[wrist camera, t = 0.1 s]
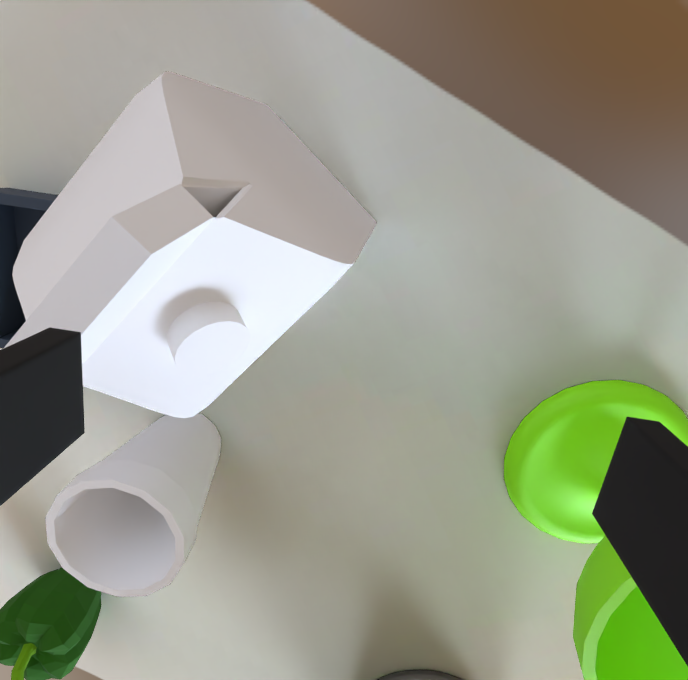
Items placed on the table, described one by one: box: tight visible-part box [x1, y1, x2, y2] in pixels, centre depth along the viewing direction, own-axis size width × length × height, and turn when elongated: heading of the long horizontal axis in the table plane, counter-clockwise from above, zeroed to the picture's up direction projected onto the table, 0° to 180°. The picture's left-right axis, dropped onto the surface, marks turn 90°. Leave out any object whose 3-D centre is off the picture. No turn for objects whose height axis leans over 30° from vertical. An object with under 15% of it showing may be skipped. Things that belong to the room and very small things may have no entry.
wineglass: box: [504, 380, 688, 680], centre depth 34 cm, size 16×16×18 cm
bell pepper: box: [0, 568, 101, 680], centre depth 47 cm, size 8×8×10 cm
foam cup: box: [45, 413, 221, 597], centre depth 39 cm, size 10×9×13 cm
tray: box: [0, 188, 58, 348], centre depth 39 cm, size 12×12×4 cm
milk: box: [3, 71, 377, 418], centre depth 26 cm, size 12×12×26 cm
